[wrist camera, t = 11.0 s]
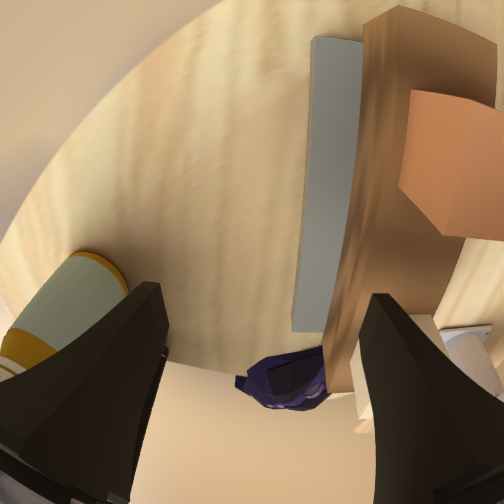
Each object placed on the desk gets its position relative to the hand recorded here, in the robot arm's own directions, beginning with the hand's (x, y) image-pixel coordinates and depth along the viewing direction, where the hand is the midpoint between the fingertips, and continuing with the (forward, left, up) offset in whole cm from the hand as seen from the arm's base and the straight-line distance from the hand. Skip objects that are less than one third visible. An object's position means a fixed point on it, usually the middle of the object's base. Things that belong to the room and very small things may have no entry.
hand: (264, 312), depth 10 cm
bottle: (-8, +15, -11) cm, 20 cm away
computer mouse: (-19, -3, -11) cm, 22 cm away
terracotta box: (+5, -7, -4) cm, 10 cm away
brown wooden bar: (0, -7, -9) cm, 11 cm away
